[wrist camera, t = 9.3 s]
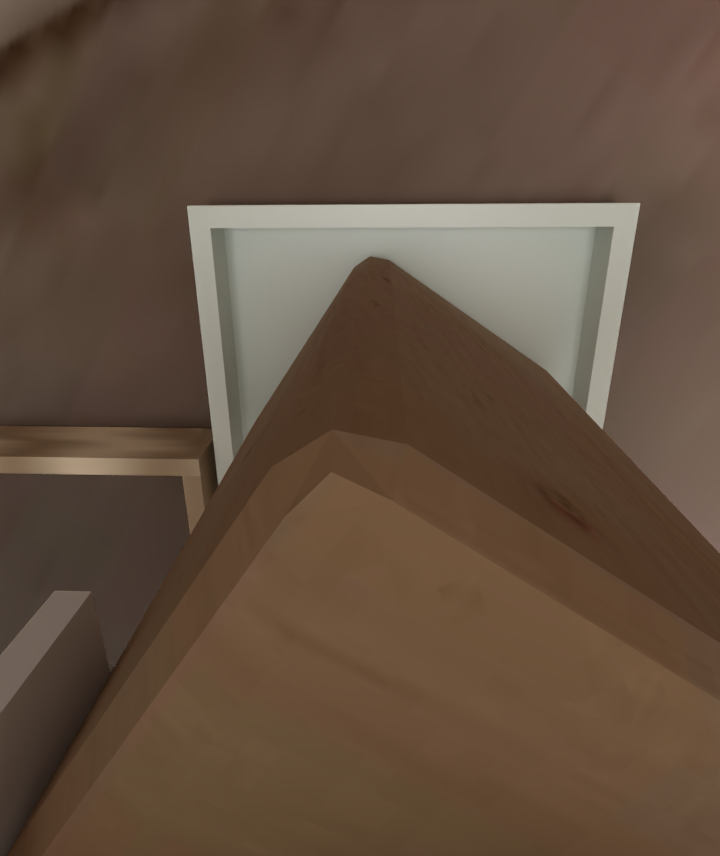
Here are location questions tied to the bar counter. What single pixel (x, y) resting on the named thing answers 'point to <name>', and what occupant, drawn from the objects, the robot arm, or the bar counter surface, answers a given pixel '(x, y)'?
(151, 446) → the bay
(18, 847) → the wooden block
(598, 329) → the tray
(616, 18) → the bar counter surface
